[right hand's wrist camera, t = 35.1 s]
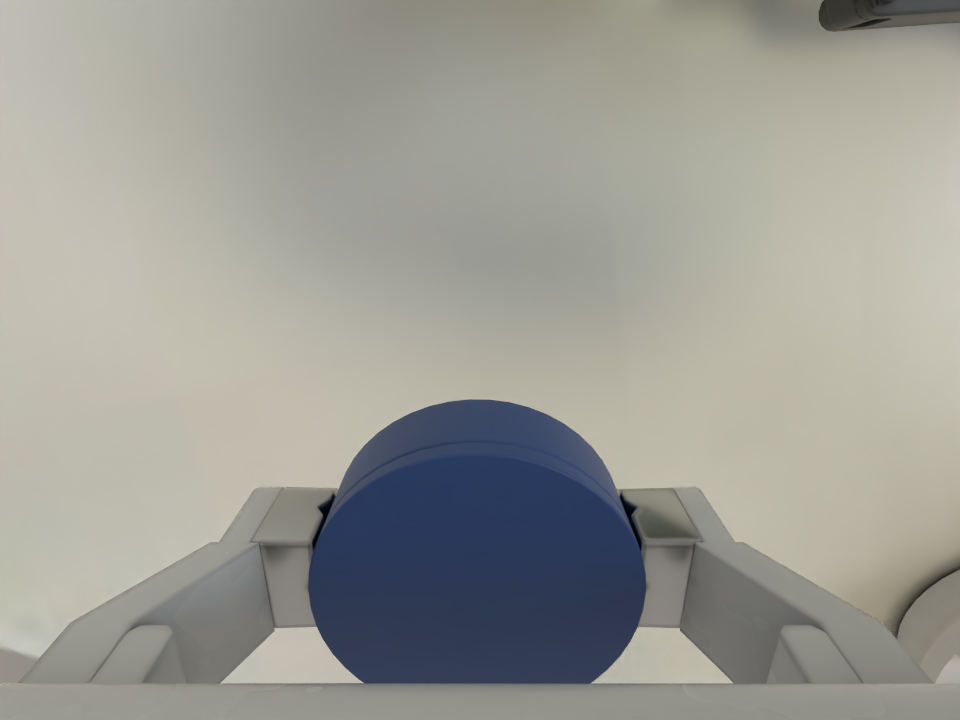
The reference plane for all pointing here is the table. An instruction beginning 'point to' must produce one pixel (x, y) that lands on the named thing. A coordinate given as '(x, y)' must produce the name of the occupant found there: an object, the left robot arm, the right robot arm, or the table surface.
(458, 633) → the lid
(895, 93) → the table surface
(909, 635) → the flag stand
